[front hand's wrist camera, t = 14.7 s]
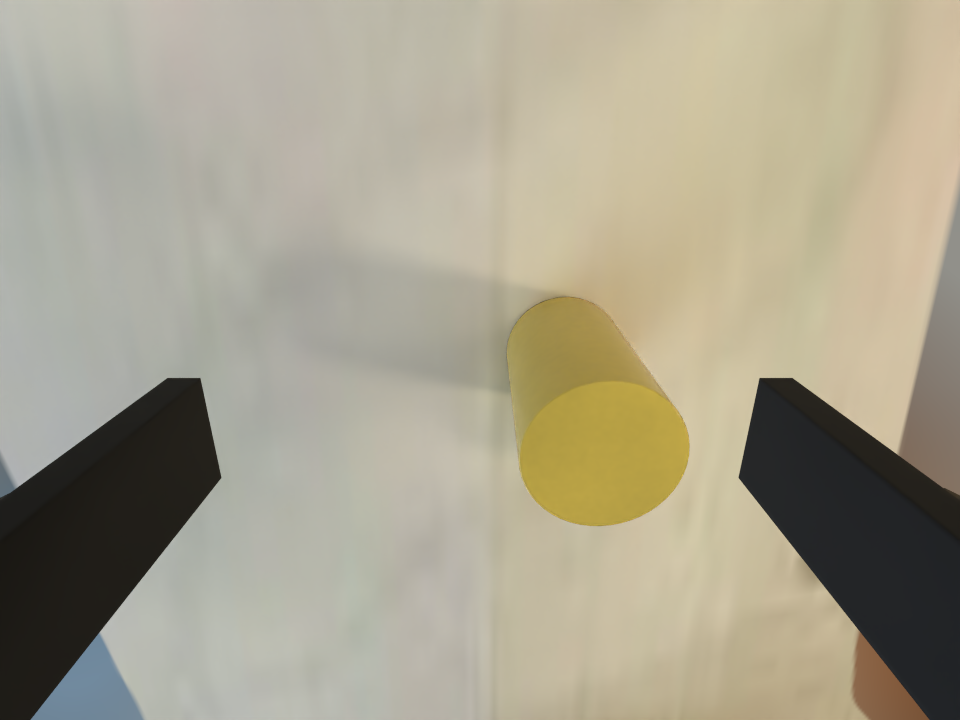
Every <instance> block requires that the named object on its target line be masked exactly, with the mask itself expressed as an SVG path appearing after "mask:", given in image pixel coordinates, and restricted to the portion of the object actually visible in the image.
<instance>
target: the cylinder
mask: <svg viewBox="0 0 960 720" xmlns="http://www.w3.org/2000/svg"><path fill="white" fill-rule="evenodd" d="M507 363H508V371H509V380H510V389H511V398H512V407H513V416H514V425H515V433H516V442H517V451H518V460H519V469H520V473H521V477H522V480H523V482H524V485H525V487H526V489H527V490H528V492H529V493H530V495H531V496H532V497H533V499H534V500H535V501H536V502H537V503H538V504H539V505H540V506H541V507H542V508H544V509H545V510H546V511H548V512H549V513H551V514H552V515H554V516H556V517H558V518H560V519H563V520H566V521H568V522H572V523H576V524H580V525H588V526H606V525H614V524H619V523H623V522H627V521H630V520H633V519H635V518H637V517H640V516H642V515H644V514H646V513H647V512H649V511H651V510H652V509H654V508H655V507H657V506H658V505H659V504H661V503H662V502H663V501H664V500H665V499H666V498H667V497H668V496H669V495H670V494H671V493H672V492H673V491H674V489H675V488H676V486H677V485H678V483H679V482H680V480H681V478H682V476H683V474H684V472H685V469H686V466H687V462H688V457H689V436H688V432H687V428H686V425H685V423H684V421H683V419H682V417H681V415H680V414H679V412H678V411H677V409H676V408H675V406H674V405H673V404H672V402H671V401H670V399H669V398H668V397H667V395H666V394H665V393H664V391H663V390H662V388H661V387H660V386H659V384H658V383H657V382H656V380H655V379H654V377H653V376H652V375H651V373H650V372H649V371H648V369H647V368H646V366H645V365H644V364H643V362H642V361H641V359H640V358H639V357H638V355H637V354H636V353H635V351H634V350H633V348H632V347H631V346H630V344H629V343H628V342H627V340H626V339H625V337H624V336H623V335H622V333H621V332H620V331H619V329H618V328H617V326H616V325H615V324H614V322H613V321H612V320H611V318H610V317H609V316H608V315H607V314H606V312H604V311H603V310H602V309H601V308H600V307H598V306H596V305H595V304H593V303H591V302H589V301H586V300H583V299H579V298H573V297H561V298H554V299H550V300H547V301H544V302H541V303H539V304H537V305H536V306H534V307H532V308H531V309H529V310H528V311H527V312H526V313H525V314H524V315H523V316H522V317H521V318H520V319H519V320H518V321H517V323H516V324H515V326H514V327H513V329H512V331H511V334H510V337H509V340H508V344H507Z"/></svg>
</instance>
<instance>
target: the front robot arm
mask: <svg viewBox="0 0 960 720" xmlns="http://www.w3.org/2000/svg"><path fill="white" fill-rule="evenodd" d="M220 479H221V474H220V469H219V464H218V459H217V455H216V450H215V445H214V441H213V436H212V431H211V426H210V422H209V417H208V412H207V407H206V403H205V398H204V393H203V389H202V384H201V379H200V378H167V379H166V380H164V381H163V382H162V383H160V384H159V385H158V386H156V387H155V388H153V389H152V390H151V391H149V392H148V393H147V394H145V395H144V396H142V397H141V398H140V399H138V400H137V401H136V402H134V403H133V404H132V405H130V406H129V407H127V408H126V409H125V410H123V411H122V412H121V413H119V414H118V415H116V416H115V417H114V418H112V419H111V420H110V421H108V422H107V423H105V424H104V425H103V426H101V427H100V428H99V429H97V430H96V431H95V432H93V433H92V434H90V435H89V436H88V437H86V438H85V439H84V440H82V441H81V442H79V443H78V444H77V445H75V446H74V447H73V448H71V449H70V450H68V451H67V452H66V453H64V454H63V455H62V456H60V457H59V458H58V459H56V460H55V461H53V462H52V463H51V464H49V465H48V466H47V467H45V468H44V469H42V470H41V471H40V472H38V473H37V474H36V475H34V476H33V477H31V478H30V479H29V480H27V481H26V482H25V483H23V484H22V485H21V486H19V487H18V488H16V489H15V490H14V491H12V492H11V493H9V494H7V495H5V496H3V497H1V498H0V720H31V718H32V717H33V716H34V715H35V713H36V712H37V711H38V709H39V708H40V707H41V706H42V704H43V703H44V702H45V701H46V699H47V698H48V697H49V696H50V694H51V693H52V692H53V690H54V689H55V688H56V687H57V685H58V684H59V683H60V682H61V680H62V679H63V678H64V676H65V675H66V674H67V673H68V671H69V670H70V669H71V668H72V666H73V665H74V664H75V663H76V661H77V660H78V659H79V658H80V656H81V655H82V654H83V652H84V651H85V650H86V649H87V647H88V646H89V645H90V644H91V642H92V641H93V640H94V639H95V637H96V636H97V635H98V633H99V632H100V631H101V630H102V628H103V627H104V626H105V625H106V623H107V622H108V621H109V620H110V618H111V617H112V616H113V614H114V613H115V612H116V611H117V609H118V608H119V607H120V606H121V604H122V603H123V602H124V601H125V599H126V598H127V597H128V595H129V594H130V593H131V592H132V590H133V589H134V588H135V587H136V585H137V584H138V583H139V582H140V580H141V579H142V578H143V576H144V575H145V574H146V573H147V571H148V570H149V569H150V568H151V566H152V565H153V564H154V563H155V561H156V560H157V559H158V557H159V556H160V555H161V554H162V552H163V551H164V550H165V549H166V547H167V546H168V545H169V544H170V542H171V541H172V540H173V538H174V537H175V536H176V535H177V533H178V532H179V531H180V530H181V528H182V527H183V526H184V525H185V523H186V522H187V521H188V519H189V518H190V517H191V516H192V514H193V513H194V512H195V511H196V509H197V508H198V507H199V505H200V504H201V503H202V502H203V500H204V499H205V498H206V497H207V495H208V494H209V493H210V492H211V490H212V489H213V488H214V486H215V485H216V484H217V483H218V481H219V480H220ZM739 479H740V480H741V481H742V483H743V484H744V485H745V486H746V488H747V489H748V490H749V492H750V493H751V494H752V495H753V497H754V498H755V499H756V500H757V502H758V503H759V504H760V506H761V507H762V508H763V509H764V511H765V512H766V513H767V514H768V516H769V517H770V518H771V519H772V521H773V522H774V523H775V525H776V526H777V527H778V528H779V530H780V531H781V532H782V533H783V535H784V536H785V537H786V538H787V540H788V541H789V542H790V544H791V545H792V546H793V547H794V549H795V550H796V551H797V552H798V554H799V555H800V556H801V557H802V559H803V560H804V561H805V563H806V564H807V565H808V566H809V568H810V569H811V570H812V571H813V573H814V574H815V575H816V576H817V578H818V579H819V580H820V582H821V583H822V584H823V585H824V587H825V588H826V589H827V590H828V592H829V593H830V594H831V595H832V597H833V598H834V599H835V601H836V602H837V603H838V604H839V606H840V607H841V608H842V609H843V611H844V612H845V613H846V614H847V616H848V617H849V618H850V620H851V621H852V622H853V623H854V625H855V626H856V627H857V628H858V630H859V631H860V632H861V633H862V635H863V636H864V637H865V638H866V640H867V641H868V642H869V644H870V645H871V646H872V647H873V649H874V650H875V651H876V652H877V654H878V655H879V656H880V658H881V659H882V660H883V661H884V663H885V664H886V665H887V666H888V668H889V669H890V670H891V671H892V673H893V674H894V675H895V677H896V678H897V679H898V680H899V682H900V683H901V684H902V685H903V687H904V688H905V689H906V690H907V692H908V693H909V694H910V696H911V697H912V698H913V699H914V700H915V702H916V703H917V704H918V706H919V707H920V708H921V709H922V711H923V712H924V713H925V715H926V716H927V717H928V718H929V720H960V495H958V494H956V493H954V492H952V491H950V490H947V489H945V488H942V487H941V486H939V485H938V484H937V483H935V482H934V481H933V480H931V479H930V478H929V477H927V476H926V475H924V474H923V473H922V472H920V471H919V470H918V469H916V468H915V467H913V466H912V465H911V464H909V463H908V462H907V461H905V460H904V459H902V458H901V457H900V456H898V455H897V454H896V453H894V452H893V451H892V450H890V449H889V448H887V447H886V446H885V445H883V444H882V443H881V442H879V441H878V440H876V439H875V438H874V437H872V436H871V435H870V434H868V433H867V432H865V431H864V430H863V429H861V428H860V427H859V426H857V425H856V424H855V423H853V422H852V421H850V420H849V419H848V418H846V417H845V416H844V415H842V414H841V413H839V412H838V411H837V410H835V409H834V408H833V407H831V406H830V405H828V404H827V403H826V402H824V401H823V400H822V399H820V398H819V397H818V396H816V395H815V394H813V393H812V392H811V391H809V390H808V389H807V388H805V387H804V386H802V385H801V384H800V383H798V382H797V381H796V380H794V379H793V378H760V379H759V384H758V389H757V393H756V398H755V403H754V407H753V412H752V417H751V422H750V426H749V431H748V436H747V441H746V445H745V450H744V455H743V459H742V464H741V469H740V474H739Z"/></svg>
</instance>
